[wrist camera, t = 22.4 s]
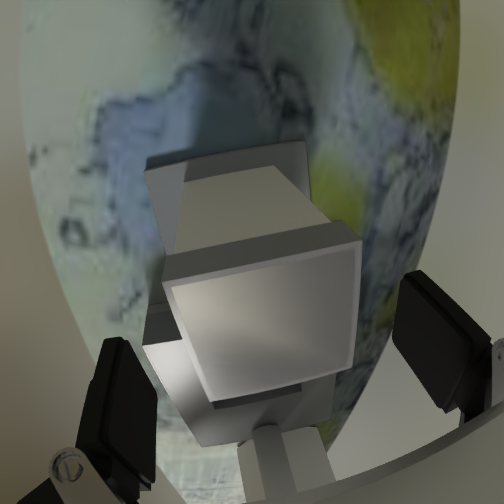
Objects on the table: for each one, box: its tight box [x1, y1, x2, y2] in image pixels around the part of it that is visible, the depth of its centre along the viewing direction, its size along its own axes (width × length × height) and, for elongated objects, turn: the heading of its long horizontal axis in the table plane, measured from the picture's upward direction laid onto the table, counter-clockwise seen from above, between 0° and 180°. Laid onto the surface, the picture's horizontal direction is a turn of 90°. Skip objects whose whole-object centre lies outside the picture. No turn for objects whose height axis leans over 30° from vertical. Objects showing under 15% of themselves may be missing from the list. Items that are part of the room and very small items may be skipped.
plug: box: [161, 165, 362, 402], centre depth 14 cm, size 5×5×10 cm
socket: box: [142, 302, 336, 447], centre depth 23 cm, size 14×12×4 cm
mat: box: [144, 140, 310, 256], centre depth 18 cm, size 7×9×1 cm
